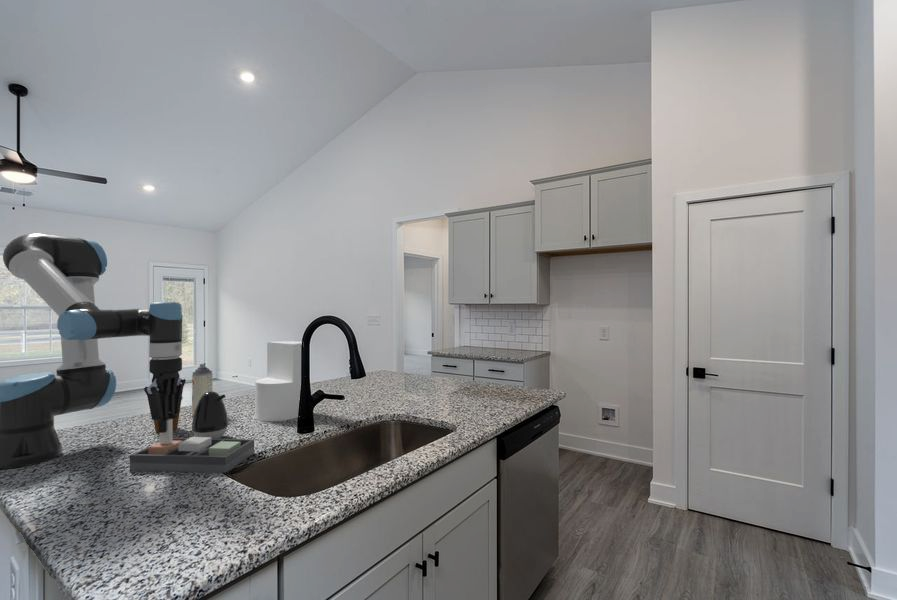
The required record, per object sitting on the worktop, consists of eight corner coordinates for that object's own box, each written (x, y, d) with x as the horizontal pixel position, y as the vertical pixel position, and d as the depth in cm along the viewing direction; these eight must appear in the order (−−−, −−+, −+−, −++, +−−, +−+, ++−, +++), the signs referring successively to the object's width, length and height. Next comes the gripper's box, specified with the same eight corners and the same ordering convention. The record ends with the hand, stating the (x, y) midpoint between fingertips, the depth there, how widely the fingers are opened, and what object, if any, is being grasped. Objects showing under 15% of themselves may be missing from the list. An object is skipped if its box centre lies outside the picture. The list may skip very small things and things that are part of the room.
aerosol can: (196, 413, 167) (196, 363, 167) (215, 412, 168) (215, 362, 168) (189, 418, 160) (189, 365, 160) (208, 417, 161) (208, 365, 161)
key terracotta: (148, 454, 114) (148, 446, 114) (163, 447, 120) (163, 440, 120) (168, 454, 114) (168, 447, 114) (182, 447, 119) (182, 440, 119)
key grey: (178, 451, 113) (178, 443, 113) (192, 444, 119) (192, 436, 119) (198, 451, 113) (198, 443, 113) (211, 444, 119) (211, 437, 119)
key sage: (208, 455, 113) (208, 448, 113) (221, 448, 118) (221, 441, 119) (228, 456, 113) (228, 448, 113) (240, 448, 118) (240, 441, 118)
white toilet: (286, 407, 176) (286, 340, 176) (312, 413, 166) (312, 342, 166) (246, 416, 162) (246, 343, 162) (271, 424, 152) (271, 346, 152)
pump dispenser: (212, 445, 130) (212, 395, 130) (183, 442, 132) (184, 394, 132) (235, 434, 139) (235, 388, 140) (208, 433, 142) (208, 387, 142)
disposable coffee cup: (143, 432, 142) (143, 397, 142) (170, 425, 151) (170, 391, 151) (161, 435, 139) (161, 399, 139) (189, 427, 148) (189, 393, 148)
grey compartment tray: (129, 470, 110) (129, 455, 110) (168, 451, 124) (168, 437, 124) (225, 472, 108) (225, 457, 108) (254, 453, 122) (254, 439, 122)
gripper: (161, 361, 110) (161, 451, 110) (194, 354, 123) (194, 435, 123) (134, 360, 111) (134, 451, 110) (170, 354, 124) (170, 435, 123)
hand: (166, 442), depth 117 cm, fingers closed
